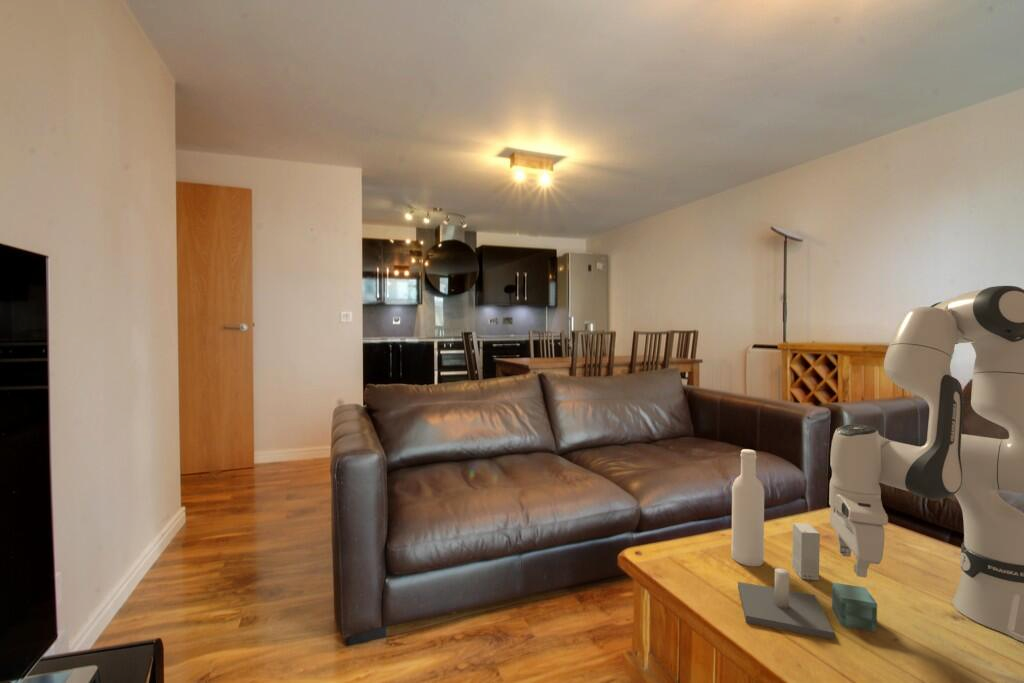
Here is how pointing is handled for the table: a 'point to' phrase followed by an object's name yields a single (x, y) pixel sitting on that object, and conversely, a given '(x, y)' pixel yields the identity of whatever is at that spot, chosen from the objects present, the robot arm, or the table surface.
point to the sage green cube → (854, 606)
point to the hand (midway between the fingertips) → (852, 564)
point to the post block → (784, 608)
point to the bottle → (748, 513)
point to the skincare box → (805, 551)
